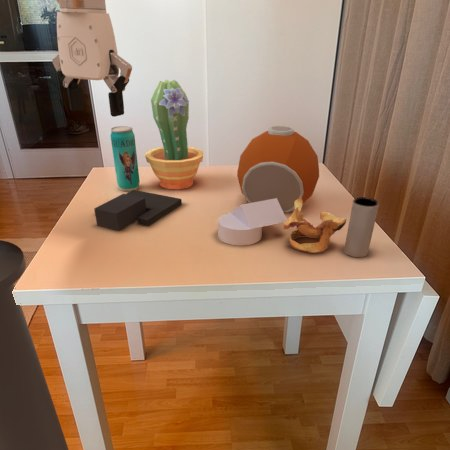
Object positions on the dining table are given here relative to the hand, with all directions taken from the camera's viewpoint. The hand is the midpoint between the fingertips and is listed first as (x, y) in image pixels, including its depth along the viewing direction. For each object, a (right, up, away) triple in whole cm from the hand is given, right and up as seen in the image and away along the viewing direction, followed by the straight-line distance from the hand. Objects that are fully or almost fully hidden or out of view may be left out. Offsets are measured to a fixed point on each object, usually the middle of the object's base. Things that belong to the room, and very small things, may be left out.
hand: (97, 112), depth 80 cm
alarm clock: (+37, -12, +23) cm, 45 cm away
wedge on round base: (+29, -22, +8) cm, 37 cm away
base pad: (+5, -14, +19) cm, 24 cm away
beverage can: (-1, -6, +31) cm, 31 cm away
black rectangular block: (+1, -18, +14) cm, 23 cm away
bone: (+41, -25, +4) cm, 48 cm away
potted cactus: (+11, -4, +34) cm, 36 cm away
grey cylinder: (+50, -27, +2) cm, 56 cm away
